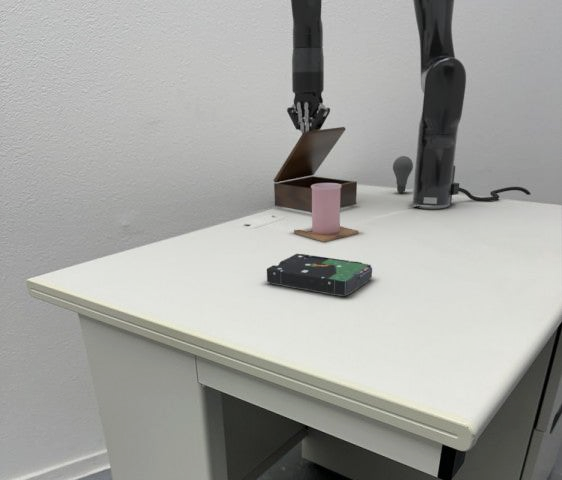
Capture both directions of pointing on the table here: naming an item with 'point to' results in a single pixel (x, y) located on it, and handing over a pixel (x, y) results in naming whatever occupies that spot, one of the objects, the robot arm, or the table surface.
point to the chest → (310, 192)
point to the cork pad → (327, 237)
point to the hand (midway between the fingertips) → (308, 148)
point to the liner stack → (326, 208)
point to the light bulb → (402, 171)
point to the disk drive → (320, 274)
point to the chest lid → (309, 153)
